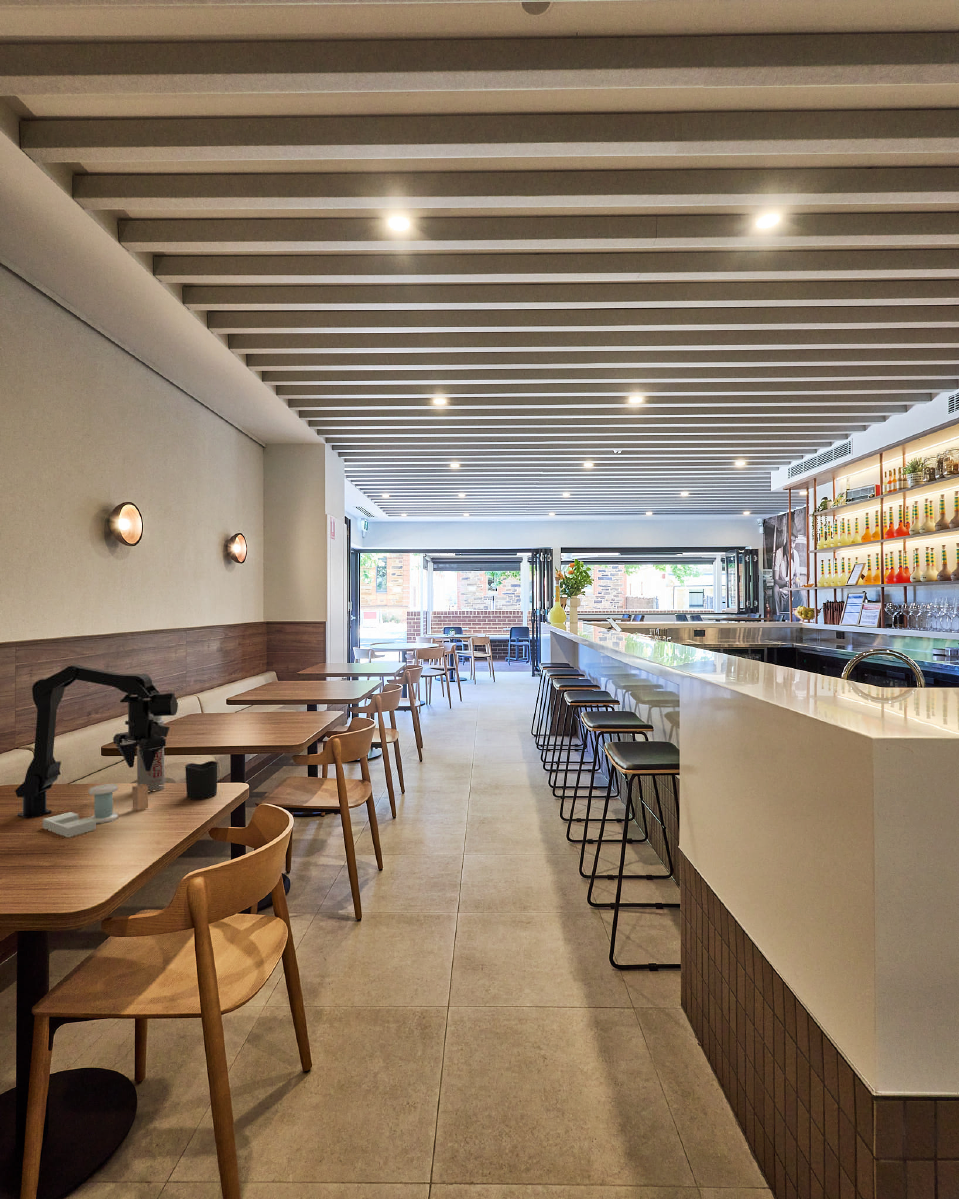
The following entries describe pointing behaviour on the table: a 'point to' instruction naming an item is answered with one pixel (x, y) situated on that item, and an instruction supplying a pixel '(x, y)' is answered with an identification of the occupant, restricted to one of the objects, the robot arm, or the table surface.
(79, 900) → the table surface
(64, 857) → the table surface
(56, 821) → the notched board
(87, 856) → the table surface
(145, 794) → the copper tab
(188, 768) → the pen holder
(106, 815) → the bobbin
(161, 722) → the thermos bottle
